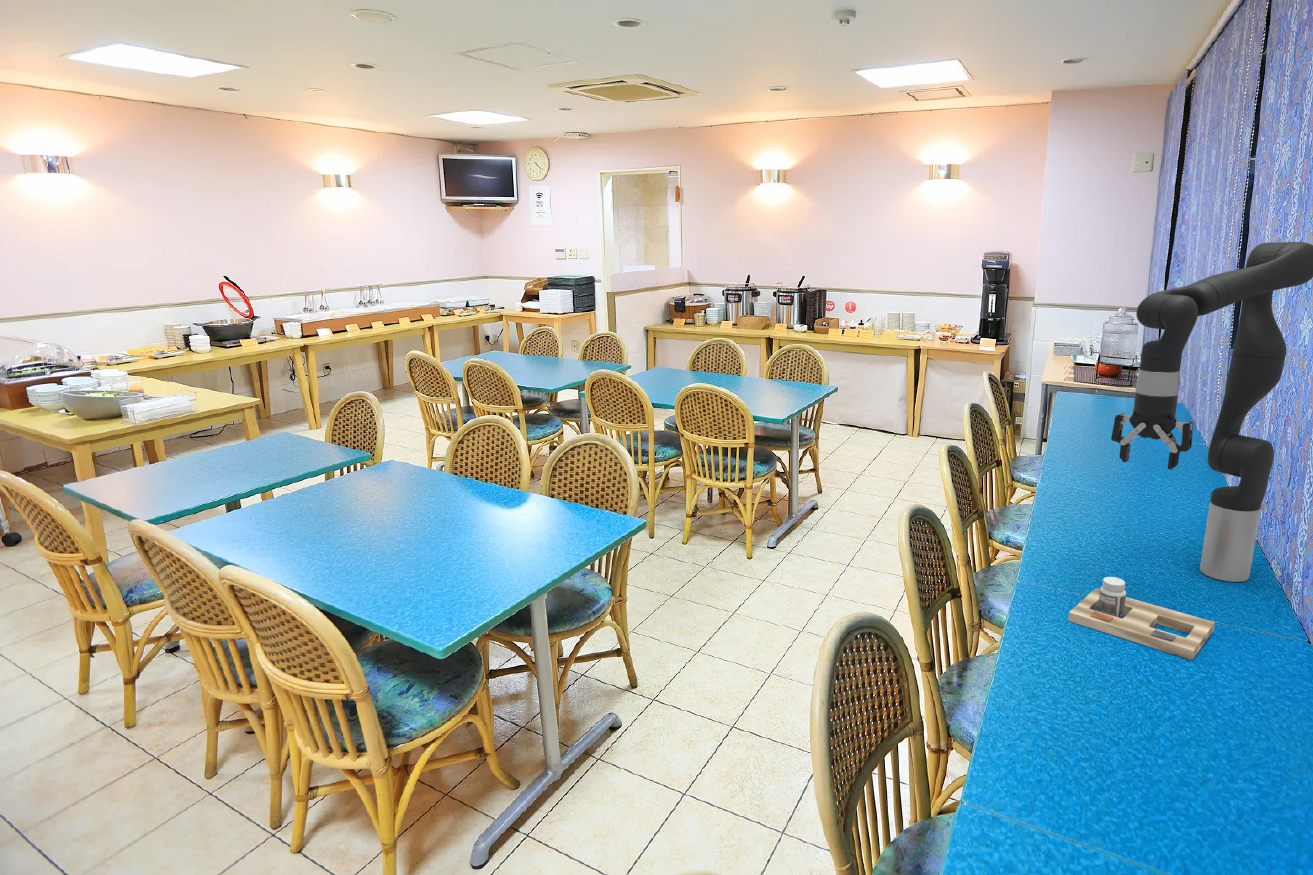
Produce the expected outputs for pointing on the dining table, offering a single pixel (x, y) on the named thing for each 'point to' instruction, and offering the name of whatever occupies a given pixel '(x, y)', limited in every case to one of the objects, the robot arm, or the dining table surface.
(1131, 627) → the socket board
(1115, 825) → the dining table surface
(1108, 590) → the pill bottle
